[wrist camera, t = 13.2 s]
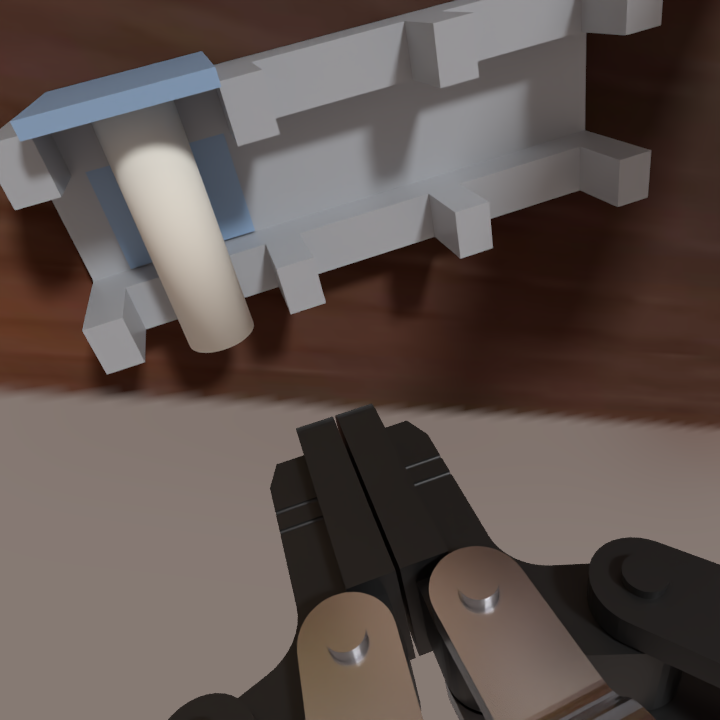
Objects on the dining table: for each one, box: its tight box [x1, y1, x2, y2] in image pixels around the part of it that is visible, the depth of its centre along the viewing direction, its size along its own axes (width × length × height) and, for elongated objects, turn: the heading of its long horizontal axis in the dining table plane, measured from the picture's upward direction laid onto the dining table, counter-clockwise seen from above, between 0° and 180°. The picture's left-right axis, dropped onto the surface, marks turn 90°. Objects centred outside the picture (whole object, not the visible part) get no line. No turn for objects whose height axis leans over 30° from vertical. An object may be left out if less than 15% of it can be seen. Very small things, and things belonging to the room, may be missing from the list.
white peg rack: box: [0, 0, 663, 374], centre depth 25 cm, size 10×26×7 cm, turn 102°
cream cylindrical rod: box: [91, 100, 254, 353], centre depth 24 cm, size 10×3×3 cm, turn 12°
